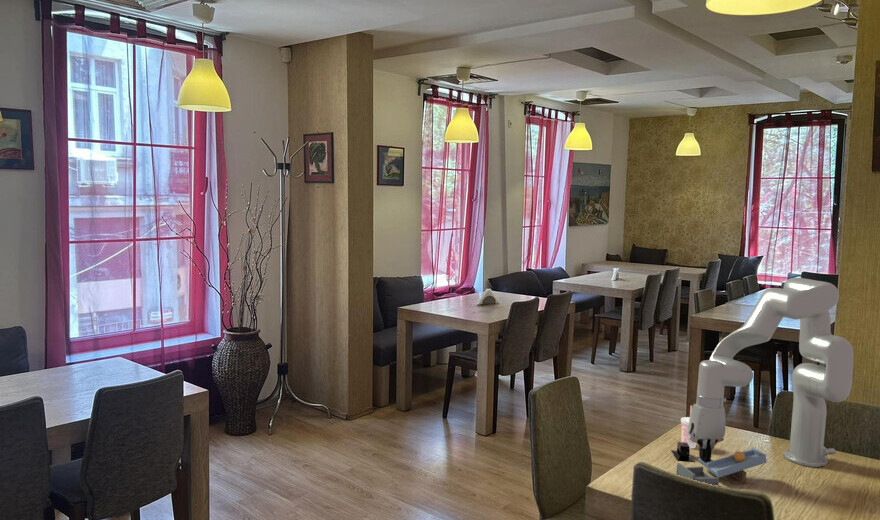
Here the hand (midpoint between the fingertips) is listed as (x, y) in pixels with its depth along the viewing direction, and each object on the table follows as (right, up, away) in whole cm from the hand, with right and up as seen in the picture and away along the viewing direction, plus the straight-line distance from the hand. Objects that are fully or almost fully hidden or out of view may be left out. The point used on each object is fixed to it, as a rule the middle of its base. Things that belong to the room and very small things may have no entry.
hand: (704, 459), depth 206 cm
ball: (+8, +2, -5) cm, 10 cm away
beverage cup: (+3, -2, +22) cm, 22 cm away
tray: (-5, -4, -7) cm, 10 cm away
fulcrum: (+7, -4, -5) cm, 10 cm away
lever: (+7, 0, -2) cm, 7 cm away
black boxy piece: (-2, -3, +12) cm, 13 cm away
